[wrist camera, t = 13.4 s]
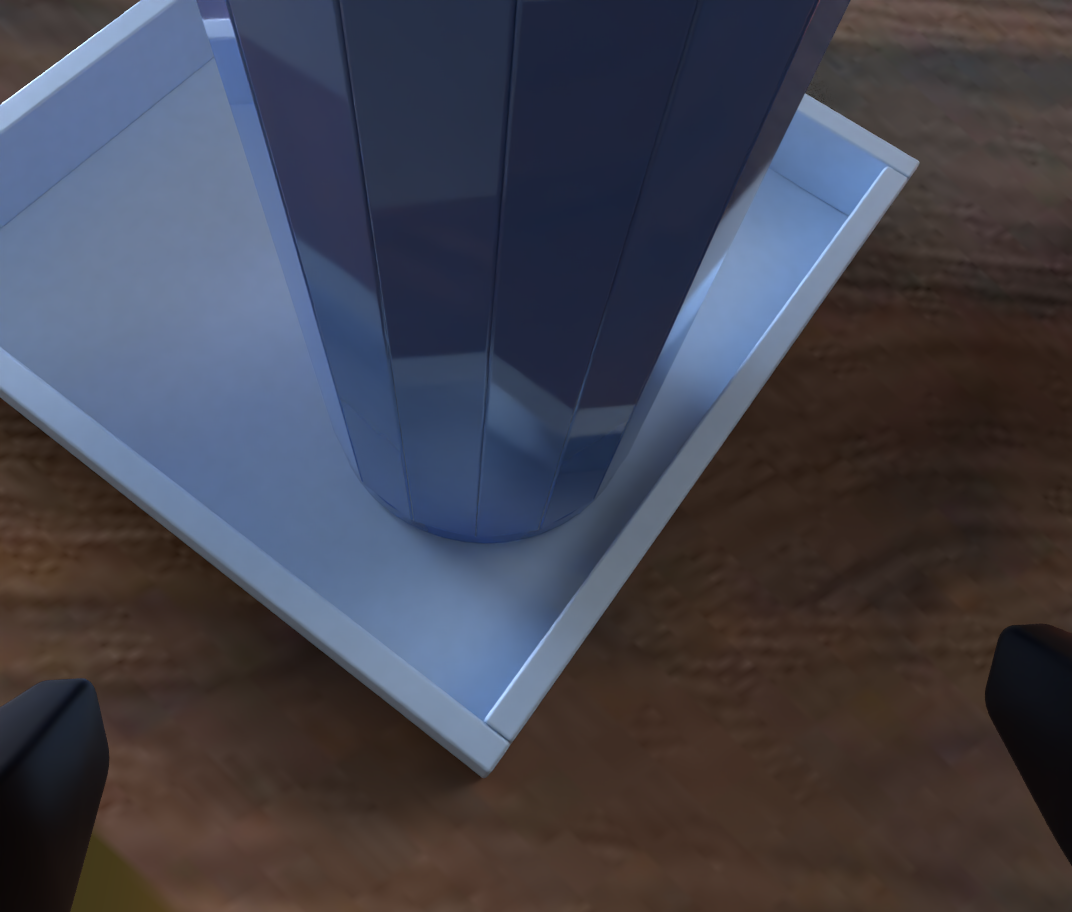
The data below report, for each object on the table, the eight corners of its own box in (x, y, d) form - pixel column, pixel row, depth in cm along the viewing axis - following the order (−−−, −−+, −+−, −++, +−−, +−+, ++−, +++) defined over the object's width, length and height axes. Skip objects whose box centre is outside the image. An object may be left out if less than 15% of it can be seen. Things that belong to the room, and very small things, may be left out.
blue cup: (658, 524, 18) (1051, -23, 6) (345, 562, 17) (104, 12, 5) (604, 264, 21) (815, -503, 9) (325, 286, 20) (124, -534, 8)
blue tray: (484, 779, 17) (489, 774, 14) (-107, 313, 19) (-187, 242, 17) (871, 231, 22) (921, 161, 20) (375, -75, 25) (367, -169, 22)
